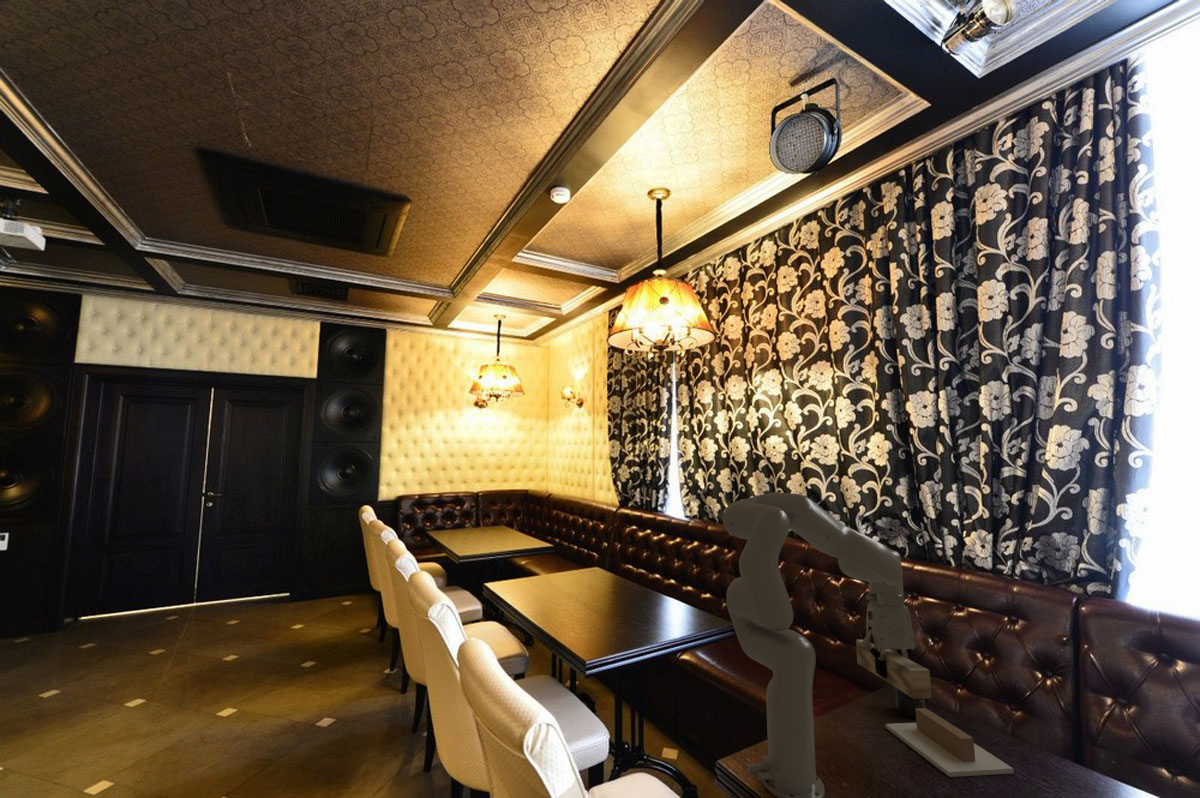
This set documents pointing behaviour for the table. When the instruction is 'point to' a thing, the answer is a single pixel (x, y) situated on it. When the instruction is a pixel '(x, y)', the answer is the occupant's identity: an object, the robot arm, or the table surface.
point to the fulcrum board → (946, 757)
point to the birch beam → (898, 672)
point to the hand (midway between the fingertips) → (891, 674)
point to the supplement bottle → (908, 703)
